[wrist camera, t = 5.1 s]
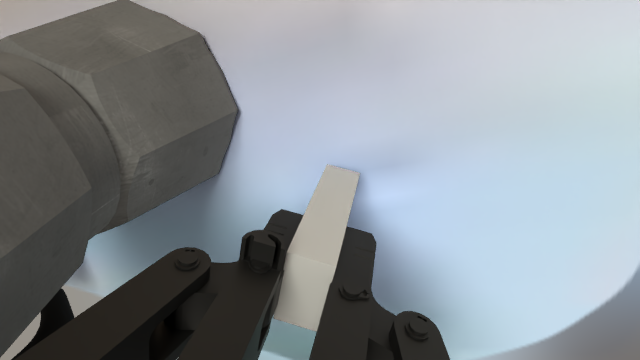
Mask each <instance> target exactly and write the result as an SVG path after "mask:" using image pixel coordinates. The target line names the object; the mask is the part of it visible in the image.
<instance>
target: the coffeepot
mask: <svg viewBox="0 0 640 360" xmlns="http://www.w3.org/2000/svg"><path fill="white" fill-rule="evenodd" d="M237 111H238V109H237V107H236V104H235V102H234V99H233V97H232V95H231V92H230V90H229V87H228V85H227V82H226V79H225V77H224V74H223V72H222V70H221V68H220V67H219V65H218V63H217V62H216V60H215V58H214V56H213V55H212V53H211V52H210V51H209V50H208V48H207V46H206V44H205V42H204V40H203V38H202V36H201V34H200V33H199V32H197V31H195V30H193V29H190V28H188V27H186V26H184V25H182V24H180V23H178V22H177V21H175V20H173V19H172V18H170V17H168V16H166V15H164V14H161V13H158V12H155V11H152V10H149V9H147V8H145V7H142V6H140V5H138V4H136V3H134V2H131V1H129V0H117V1H114V2H111V3H108V4H105V5H102V6H99V7H96V8H93V9H90V10H87V11H84V12H81V13H78V14H74V15H71V16H68V17H65V18H62V19H59V20H56V21H53V22H50V23H47V24H44V25H41V26H38V27H35V28H32V29H29V30H26V31H23V32H20V33H16V34H13V35H10V36H7V37H5V38H3V39H1V40H0V357H1V356H2V355H3V354H4V353H5V352H6V350H7V349H8V348H9V347H10V346H11V344H12V343H13V342H14V341H15V340H16V339H17V338H18V337H19V335H20V334H21V333H22V332H23V331H24V330H25V328H26V327H27V326H28V325H29V324H30V323H31V322H32V321H33V319H34V318H35V317H36V316H37V315H38V314H39V312H41V322H40V327H39V329H38V331H37V333H36V335H35V336H34V338H33V339H32V340H31V342H30V343H29V344H28V345H27V346H26V347H25V348H24V349H23V350H22V351H21V352H20V353H18V354H17V355H16V356H15V357H14V358H13V359H11V360H14V359H16V358H17V357H19V356H20V355H22V354H23V353H24V352H26V351H27V350H29V349H30V348H32V347H33V346H35V345H36V344H38V343H39V342H40V341H42V340H43V339H45V338H46V337H48V336H49V335H51V334H52V333H54V332H55V331H56V330H58V329H59V328H61V327H62V326H64V325H65V324H67V323H68V322H70V321H71V320H72V319H74V315H73V312H72V309H71V306H70V304H69V301H68V298H67V296H66V294H65V292H64V290H63V289H61V287H62V286H63V285H64V284H65V283H66V282H67V280H68V279H69V278H70V277H71V276H72V275H73V274H74V272H75V271H76V270H77V269H78V268H79V267H80V266H81V264H82V263H83V260H84V256H85V252H86V248H87V244H88V240H89V239H91V238H92V237H93V236H95V235H96V234H99V233H102V232H105V231H107V230H110V229H112V228H115V227H117V226H119V225H122V224H124V223H126V222H129V221H130V220H132V219H134V218H136V217H138V216H140V215H142V214H144V213H145V212H147V211H149V210H151V209H153V208H155V207H157V206H159V205H161V204H162V203H164V202H166V201H168V200H170V199H172V198H174V197H176V196H177V195H179V194H181V193H183V192H185V191H187V190H189V189H191V188H192V187H194V186H196V185H198V184H200V183H202V182H204V181H206V180H207V179H209V178H211V177H213V176H215V175H217V174H219V171H220V167H221V164H222V161H223V158H224V155H225V153H226V150H227V148H228V145H229V143H230V140H231V135H232V129H233V124H234V121H235V118H236V115H237Z"/></svg>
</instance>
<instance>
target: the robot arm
mask: <svg viewBox="0 0 640 360" xmlns="http://www.w3.org/2000/svg"><path fill="white" fill-rule="evenodd" d="M359 175H360V173H358V172H354V171H350V170H347V169H343V168H339V167H336V166H332V165H328V164H327V165H326V168H325V170H324V172H323V174H322V176H321V178H320V181H319V183H318V185H317V187H316V189H315V192H314V194H313V196H312V198H311V200H310V202H309V205H308V207H307V209H306V211H305V213H304V215H301V214H297V213H293V212H290V211H286V210H283V209H281V210H280V211H278V212H276V213H275V214H273V215H272V216H271V218H270V220H269V221H268V224H267V225H266V227H265V228H264V230H256V231H252V232H249V233H247V234H246V235H244V236H243V237H242V243H241V251H240V258H239V261H237V262H232V263H213V262H211V259H210V257H209V255H208V254H207V253H205V252H204V251H203V250H200V249H197V248H189V247H185V248H180V249H176V250H174V251H172V252H170V253H168V254H167V255H166V256H164V257H163V258H161V259H160V260H158V261H157V262H155V263H154V264H152V265H151V266H150V267H148V268H147V269H145V270H144V271H142V272H141V273H139V274H138V275H136V276H135V277H134V278H132V279H131V280H129V281H128V282H126V283H125V284H123V285H122V286H120V287H119V288H118V289H116V290H115V291H113V292H112V293H110V294H109V295H107V296H106V297H104V298H103V299H102V300H100V301H99V302H97V303H96V304H94V305H93V306H91V307H90V308H88V309H87V310H86V311H84V312H83V313H81V314H80V315H78V316H77V317H75V318H74V319H72V320H71V321H70V322H68V323H67V324H65V325H64V326H62V327H61V328H59V329H58V330H56V331H55V332H54V333H52V334H51V335H49V336H48V337H46V338H45V339H43V340H42V341H40V342H39V343H38V344H36V345H35V346H33V347H32V348H30V349H29V350H27V351H26V352H24V353H23V354H22V355H20V356H19V357H17V358H16V359H14V360H176V359H177V358H178V357H179V358H178V359H177V360H258V357H259V355H260V352H261V350H262V347H263V345H264V342H265V340H266V337H267V335H268V332H269V328H270V323H271V319H272V317H273V314H274V319H277V320H280V321H283V322H287V323H290V324H293V325H296V326H300V327H303V328H306V329H309V330H313V331H316V332H317V333H316V337H315V340H314V344H313V347H312V351H311V354H310V358H309V360H450V358H449V355H448V353H447V350H446V347H445V345H444V342H443V339H442V337H441V334H440V332H439V330H438V328H437V327H436V325H435V324H434V323H433V322H432V321H431V320H430V319H429V318H427V317H425V316H424V315H422V314H420V313H416V312H413V311H405V312H402V313H400V314H398V315H397V316H395V315H394V314H392V313H390V312H388V311H387V310H385V309H384V308H382V307H381V306H380V305H379V304H378V303H377V302H376V300H375V299H374V297H373V295H372V292H371V284H372V276H373V267H374V259H375V251H376V241H375V239H374V237H373V235H372V234H371V233H368V232H364V231H361V230H357V229H354V228H350V227H347V223H348V219H349V215H350V211H351V207H352V203H353V199H354V195H355V191H356V187H357V183H358V179H359ZM274 312H275V313H274Z"/></svg>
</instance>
